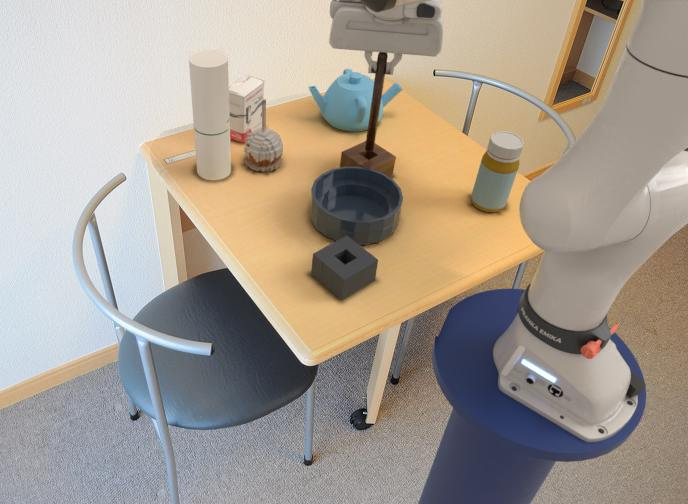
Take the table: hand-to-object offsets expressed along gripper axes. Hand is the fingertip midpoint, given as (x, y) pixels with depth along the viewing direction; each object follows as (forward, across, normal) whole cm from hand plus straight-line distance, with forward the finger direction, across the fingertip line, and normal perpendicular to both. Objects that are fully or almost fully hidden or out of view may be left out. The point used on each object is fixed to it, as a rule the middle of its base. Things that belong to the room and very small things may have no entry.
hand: (380, 72), depth 123 cm
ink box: (+23, -28, +12) cm, 38 cm away
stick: (+18, 0, 0) cm, 18 cm away
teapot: (+23, -4, +22) cm, 32 cm away
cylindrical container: (+23, -32, -4) cm, 40 cm away
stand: (+23, -4, -32) cm, 39 cm away
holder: (+23, 0, 0) cm, 23 cm away
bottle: (+23, +25, -6) cm, 35 cm away
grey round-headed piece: (+23, -22, +1) cm, 32 cm away
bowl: (+23, -2, -15) cm, 28 cm away
